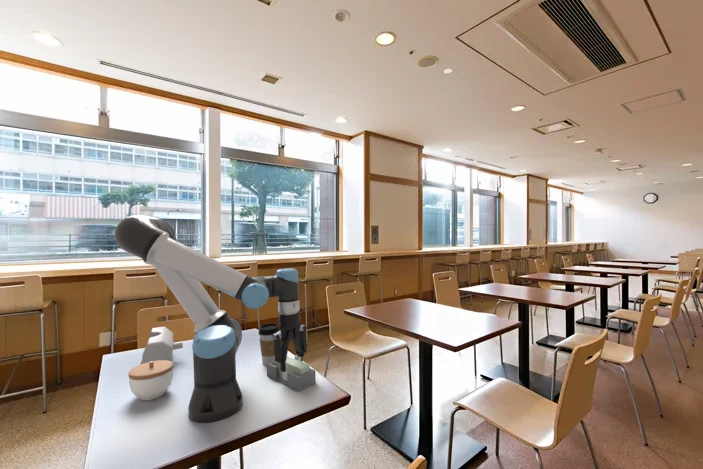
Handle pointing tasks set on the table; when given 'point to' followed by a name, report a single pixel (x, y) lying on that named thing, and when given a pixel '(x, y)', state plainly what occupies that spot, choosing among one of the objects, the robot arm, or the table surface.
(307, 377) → the grey holder tray
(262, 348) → the coffee cup
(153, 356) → the tank
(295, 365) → the block
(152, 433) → the table surface
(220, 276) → the robot arm
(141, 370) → the lidded bowl
